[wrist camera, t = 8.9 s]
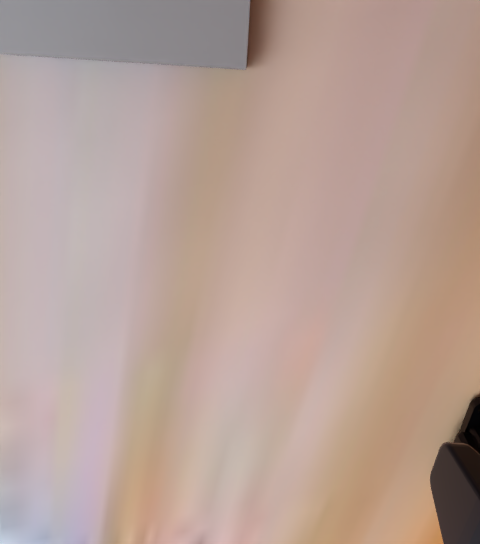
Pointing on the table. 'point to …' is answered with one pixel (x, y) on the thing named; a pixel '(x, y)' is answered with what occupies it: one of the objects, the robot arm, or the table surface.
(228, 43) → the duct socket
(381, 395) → the table surface
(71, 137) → the table surface
